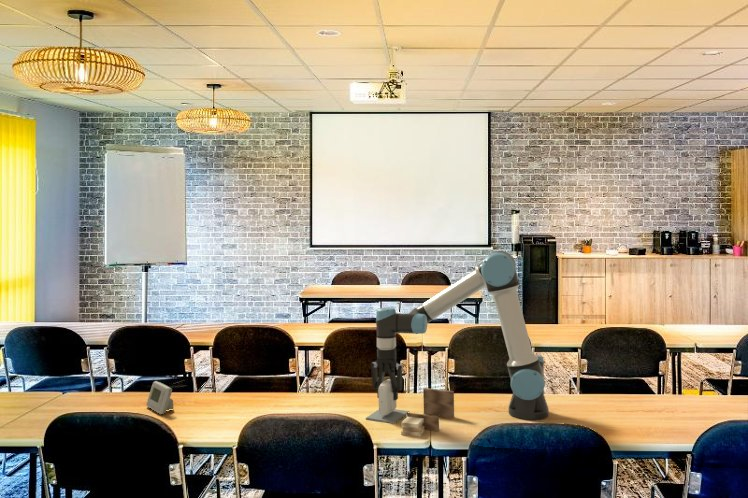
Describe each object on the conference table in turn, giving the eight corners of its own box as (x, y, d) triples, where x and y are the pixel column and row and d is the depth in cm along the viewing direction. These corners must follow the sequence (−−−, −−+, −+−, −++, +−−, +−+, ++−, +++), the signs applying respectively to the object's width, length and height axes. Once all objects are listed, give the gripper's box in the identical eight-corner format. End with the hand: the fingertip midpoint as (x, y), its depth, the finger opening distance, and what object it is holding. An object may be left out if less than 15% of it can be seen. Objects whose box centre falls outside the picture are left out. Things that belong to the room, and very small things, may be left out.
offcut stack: (425, 430, 222) (424, 417, 222) (420, 437, 215) (420, 424, 215) (405, 428, 224) (404, 416, 224) (400, 435, 217) (400, 423, 217)
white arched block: (387, 416, 232) (386, 383, 232) (377, 414, 234) (376, 382, 234) (397, 408, 242) (397, 377, 241) (387, 407, 243) (387, 376, 243)
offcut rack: (454, 416, 235) (453, 391, 235) (438, 431, 220) (437, 403, 219) (425, 413, 241) (424, 387, 240) (407, 426, 225) (407, 400, 225)
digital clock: (145, 406, 257) (144, 381, 256) (168, 403, 261) (167, 378, 260) (152, 417, 242) (151, 391, 242) (175, 413, 247) (174, 387, 246)
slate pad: (409, 412, 242) (409, 411, 241) (394, 423, 229) (394, 421, 229) (381, 408, 247) (381, 407, 247) (365, 419, 234) (365, 417, 234)
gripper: (411, 347, 236) (412, 407, 237) (370, 344, 244) (372, 402, 245) (403, 351, 229) (404, 412, 231) (362, 348, 237) (363, 407, 238)
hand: (387, 407), depth 238 cm, fingers closed on white arched block, 4 cm apart
